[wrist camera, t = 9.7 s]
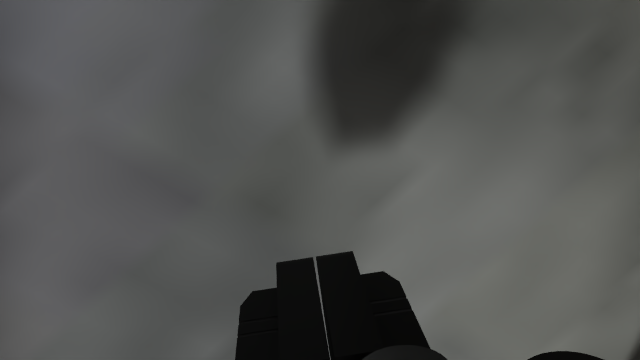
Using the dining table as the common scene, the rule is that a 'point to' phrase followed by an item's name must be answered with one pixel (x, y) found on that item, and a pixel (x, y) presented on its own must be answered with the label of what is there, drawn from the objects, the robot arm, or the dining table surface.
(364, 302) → the robot arm
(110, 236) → the dining table surface
